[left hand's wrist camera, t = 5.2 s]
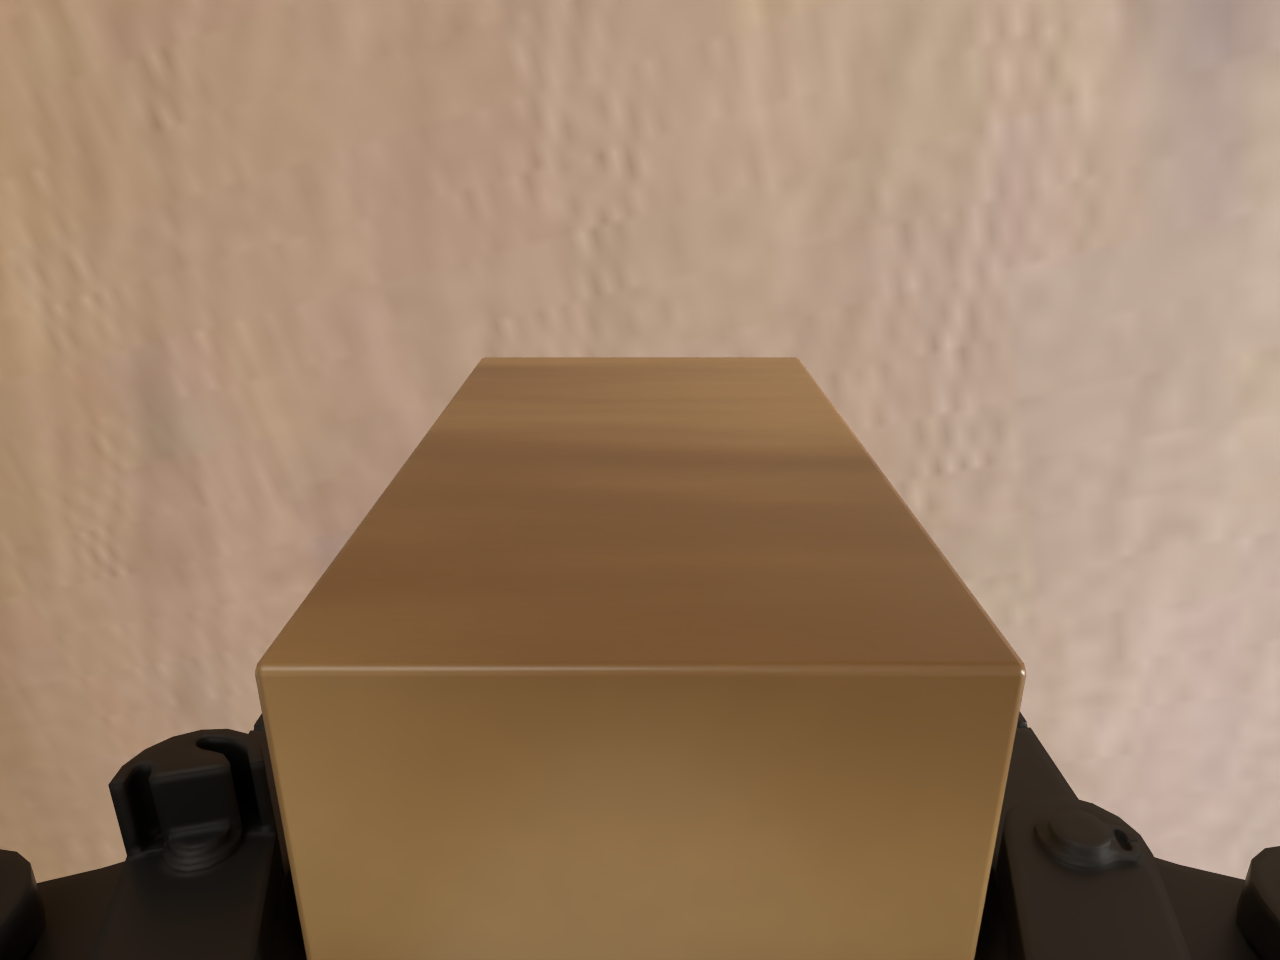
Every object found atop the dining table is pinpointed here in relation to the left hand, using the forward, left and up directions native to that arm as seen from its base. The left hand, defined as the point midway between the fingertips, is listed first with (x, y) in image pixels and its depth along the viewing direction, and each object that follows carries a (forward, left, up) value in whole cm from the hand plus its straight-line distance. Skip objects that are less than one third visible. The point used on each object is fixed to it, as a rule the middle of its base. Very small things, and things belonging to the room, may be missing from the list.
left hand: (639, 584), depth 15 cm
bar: (+7, +2, -1) cm, 7 cm away
